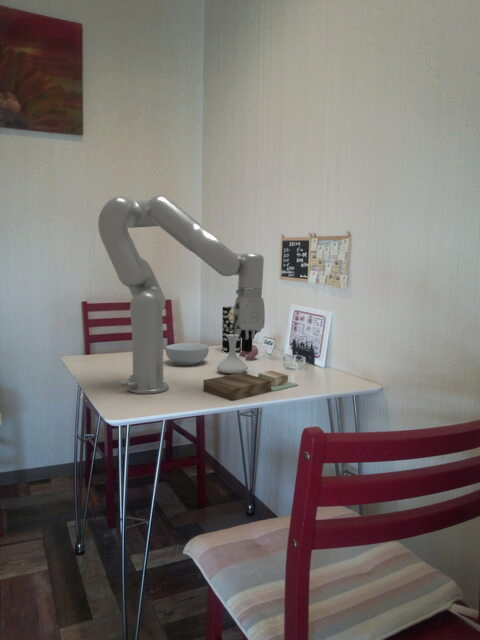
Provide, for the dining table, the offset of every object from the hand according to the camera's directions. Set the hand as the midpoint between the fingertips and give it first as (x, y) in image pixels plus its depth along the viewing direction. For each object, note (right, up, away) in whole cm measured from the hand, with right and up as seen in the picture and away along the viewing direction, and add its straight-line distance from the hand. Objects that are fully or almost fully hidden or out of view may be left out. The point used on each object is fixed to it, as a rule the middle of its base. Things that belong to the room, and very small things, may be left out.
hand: (246, 351), depth 153 cm
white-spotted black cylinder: (-6, -5, +65) cm, 65 cm away
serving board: (-3, -13, -2) cm, 13 cm away
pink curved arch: (+2, -7, +50) cm, 50 cm away
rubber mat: (+8, -11, +8) cm, 16 cm away
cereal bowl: (-23, -8, +39) cm, 46 cm away
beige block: (+9, -10, +7) cm, 15 cm away
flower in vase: (-4, -10, +24) cm, 26 cm away
